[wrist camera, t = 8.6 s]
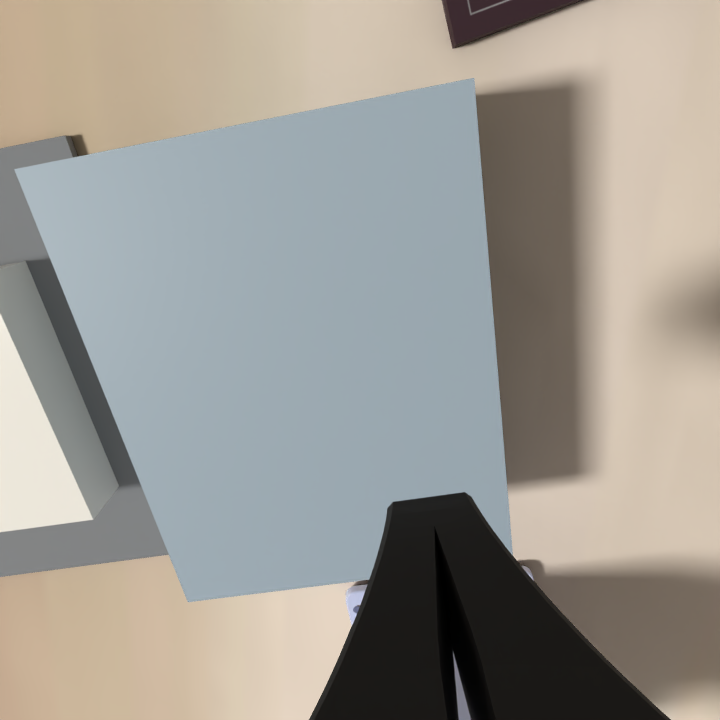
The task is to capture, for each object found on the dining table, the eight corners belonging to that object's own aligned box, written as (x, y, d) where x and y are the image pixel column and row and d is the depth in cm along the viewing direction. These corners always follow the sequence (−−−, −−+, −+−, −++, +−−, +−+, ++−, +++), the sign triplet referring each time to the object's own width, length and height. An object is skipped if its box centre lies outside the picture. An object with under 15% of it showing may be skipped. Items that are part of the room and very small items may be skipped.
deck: (486, 487, 20) (513, 561, 16) (219, 523, 21) (187, 601, 17) (447, 98, 15) (473, 77, 11) (97, 167, 16) (14, 169, 12)
